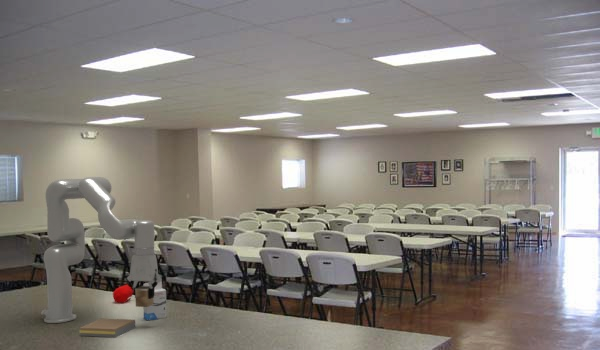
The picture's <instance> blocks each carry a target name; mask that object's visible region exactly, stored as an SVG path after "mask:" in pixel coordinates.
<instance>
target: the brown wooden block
mask: <svg viewBox="0 0 600 350" xmlns="http://www.w3.org/2000/svg"><path fill="white" fill-rule="evenodd" d="M149 288H150V287H149V286H143V285H141V286H140V287H138V288H136V289H135V295H134V297H135V296H136V298H135V307H139V308H140V307H141V308H143V307H148V306H150V305H153V304H154V300H153V298H151V299H149V298H148V289H149Z"/></svg>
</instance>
